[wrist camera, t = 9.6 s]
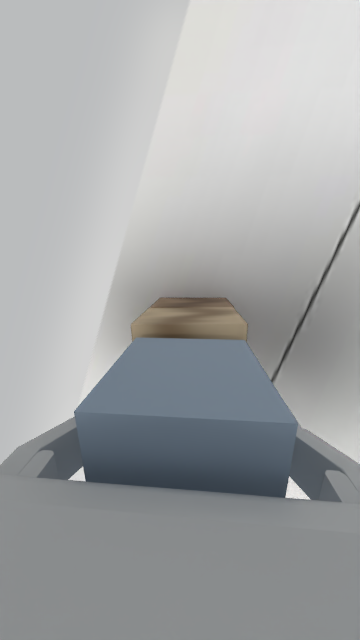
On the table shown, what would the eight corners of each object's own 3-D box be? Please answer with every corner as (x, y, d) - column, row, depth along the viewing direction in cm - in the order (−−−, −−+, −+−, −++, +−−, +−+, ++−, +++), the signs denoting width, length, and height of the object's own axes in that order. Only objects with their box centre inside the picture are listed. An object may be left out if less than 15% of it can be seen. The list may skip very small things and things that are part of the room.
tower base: (225, 297, 21) (234, 307, 17) (222, 358, 23) (229, 382, 18) (160, 297, 22) (150, 306, 17) (162, 356, 24) (153, 379, 19)
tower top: (232, 307, 17) (247, 324, 12) (229, 382, 18) (241, 423, 14) (149, 307, 17) (130, 324, 12) (153, 380, 19) (139, 419, 14)
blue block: (244, 339, 11) (298, 423, 5) (237, 430, 12) (271, 573, 7) (136, 337, 11) (74, 411, 6) (142, 425, 13) (98, 553, 7)
